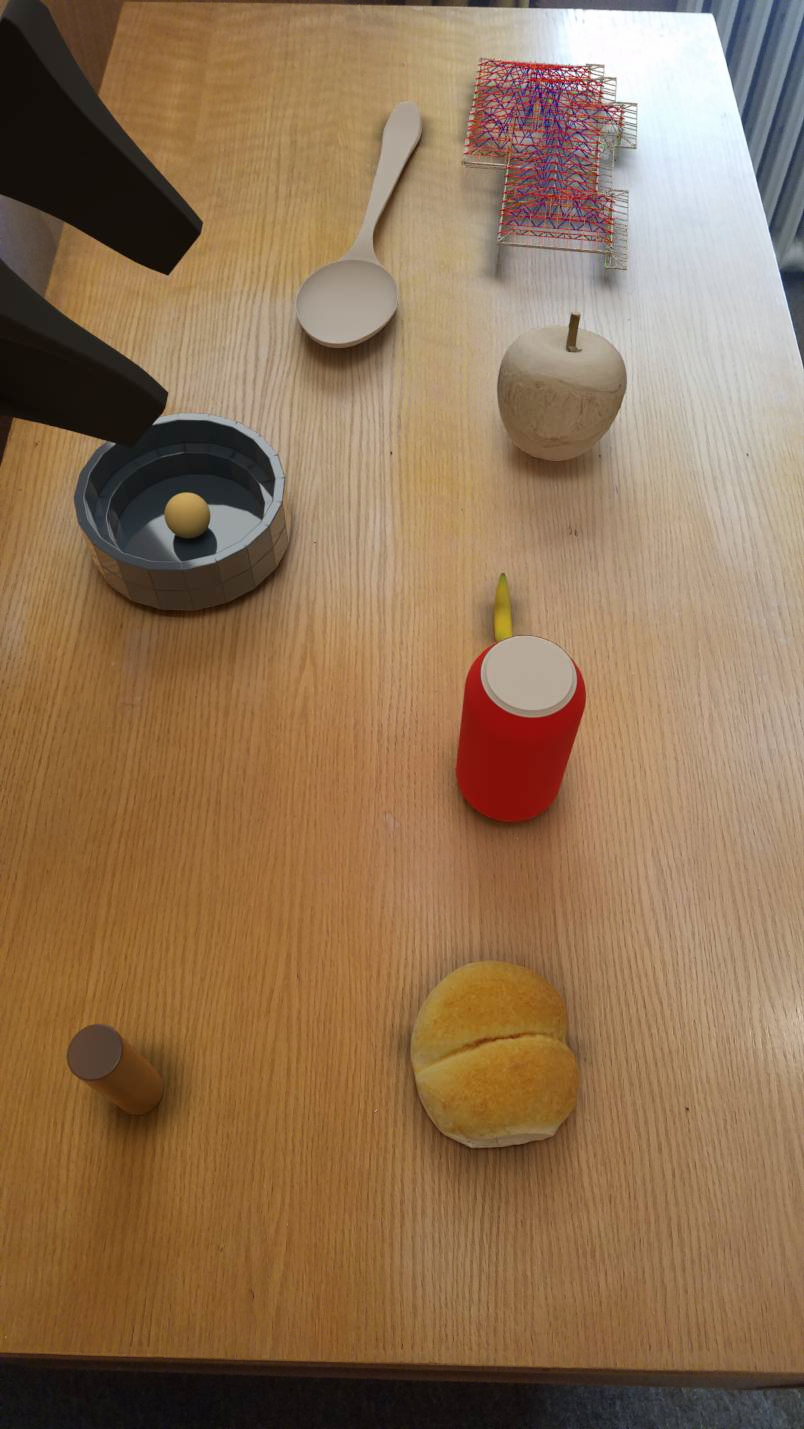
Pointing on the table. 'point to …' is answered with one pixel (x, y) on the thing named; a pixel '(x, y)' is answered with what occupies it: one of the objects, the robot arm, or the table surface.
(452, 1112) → the bread roll
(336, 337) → the spoon
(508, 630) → the fruit
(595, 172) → the roof frame
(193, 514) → the ball
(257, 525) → the bowl
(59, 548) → the table surface
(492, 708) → the beverage can
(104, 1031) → the brown wooden dowel
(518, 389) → the decorative object
